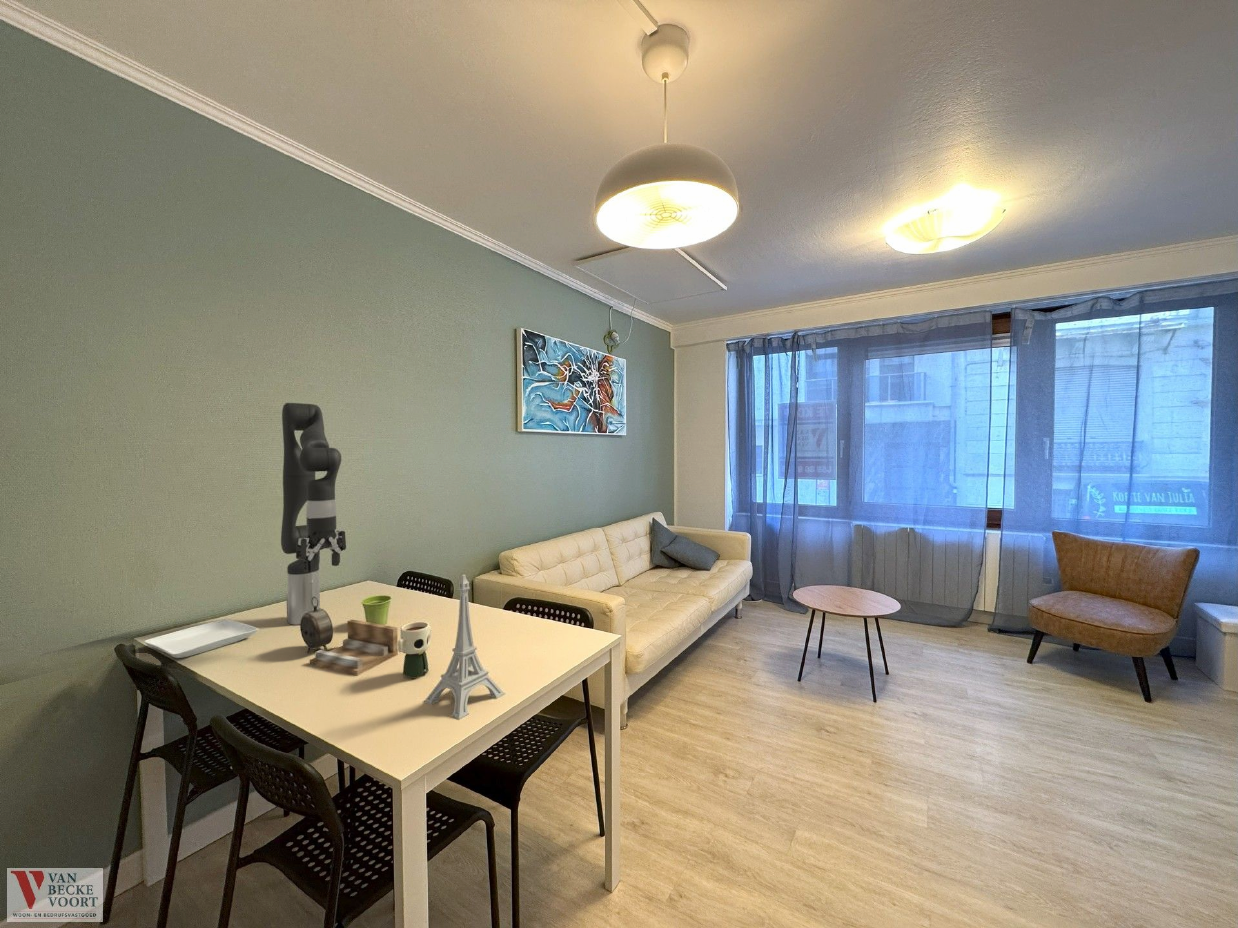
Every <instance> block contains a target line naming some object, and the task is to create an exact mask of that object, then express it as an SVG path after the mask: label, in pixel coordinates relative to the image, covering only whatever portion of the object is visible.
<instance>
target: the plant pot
mask: <svg viewBox="0 0 1238 928" xmlns="http://www.w3.org/2000/svg"><path fill="white" fill-rule="evenodd" d="M392 599H393V597H392V596H390V595H388V594H386V595H384V594H382V595H381V594H380V595H373V596H369V597H365V598H364V599H363V598H362V600H361V601H360V604H362V607H363V610H364V617H365V622H369V623H375V624H380V625H387V624H388V619H389V618H388V617H389V616H388V615H389V611H390V604H391V601H392Z"/></svg>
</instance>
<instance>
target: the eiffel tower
mask: <svg viewBox="0 0 1238 928" xmlns="http://www.w3.org/2000/svg"><path fill="white" fill-rule="evenodd" d="M466 576H467V575H466V574H462V575H461V578H460V580H459V582H458V587H457V590H458V591H459V605H458V606H459V608H458V610H459V611H458V622H457V630H456V631H457V632H456V638H455V645H454V648H452V652H453V654H452V656H451V659H450V662H449V664H448V667H447V669H446V671H445V673H443V674H441V675H440V677H441V679H440V680H439V681H438V683H437V684H436V685H435V687H434V688H433V689H432V691H431V692H430V693H429V694H428V696H427V697H426V698H425V699H424V700H423V702H424V703H426V704H427V705H430V706H432V705H433V704H435V703H437V702H440V701H441V695H442V694H443V692H444V691H445V690H446V689H449V690H451V692H452V693H453V696H454V708H453V709H454V710H453V713H452V714H451V717H453V718H455V719H457V720H462V719H463V718H465V717H467V716H469V715H470V713H469V712H468V700H469V697H470V695H471V692H472V691H473V690H474V689H475V688H476V687H479V686H484V687H486V688H487V690H488V691H489V694H488V695H489V697H492V698H493V699H496V700H497V699H499V698H501V697H503V696H504V695H506V692H503V690H502V689H501V688H500V687H499V686H498V685H497V684H496V682H495V681H494V680H493V679H492V678H491V677H490V676H489V672H490V671H489V670H487V669H484V667H483V665H482V663H481V661H480V659H479V657H478V655H477V652H476V650H477V649H478V647H477V646H475V645H474V638H473V633H472V626H471V625H472V624H471V619H470V618H471V617H470V606H469V591H470V589H471V586H470V582H469V581H468V579H467V577H466Z"/></svg>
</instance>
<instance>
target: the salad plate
mask: <svg viewBox="0 0 1238 928" xmlns="http://www.w3.org/2000/svg"><path fill="white" fill-rule="evenodd" d="M258 631H259V627H255V626H253V625H249V624H246V623H243V622H240V621H236V620H233V619H230V618H224V619H223V618H222V619H220V620H215V621H212V622H211V621H210V622H206V623H203V624H199V625H196V626H195V625H194V626H192V627H186V628H183V629H180V630H177V631H174V632H170V633H167V634H166V633H165V634H163V635H158V636H155V637H151V638H149V639H146V640H144V642H143V643H144V644H145V645H147V646H148V647H151V648H152V649H156V650H159V651H161V652H164V653H166V654H168V655H169V656H171V657H173V658H175V659H181V658H187V657H194V656H196V655H200V654H202V653H206V652H209V651H213V650H215V649H219V648H221V647H225V646H228V645H231V644H235V643H238V642H240V641H242V640H245V639H247V638H249V637H251V636H252V635H254V634H256V633H257V632H258Z"/></svg>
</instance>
